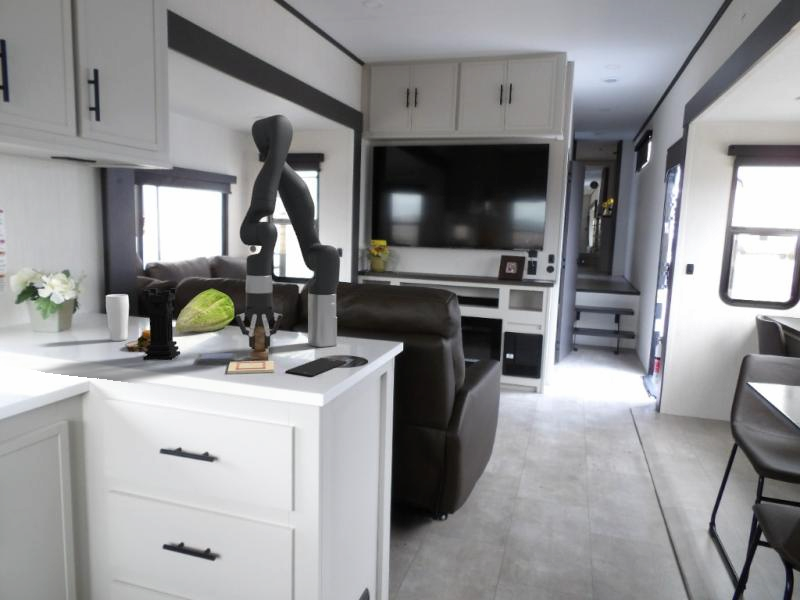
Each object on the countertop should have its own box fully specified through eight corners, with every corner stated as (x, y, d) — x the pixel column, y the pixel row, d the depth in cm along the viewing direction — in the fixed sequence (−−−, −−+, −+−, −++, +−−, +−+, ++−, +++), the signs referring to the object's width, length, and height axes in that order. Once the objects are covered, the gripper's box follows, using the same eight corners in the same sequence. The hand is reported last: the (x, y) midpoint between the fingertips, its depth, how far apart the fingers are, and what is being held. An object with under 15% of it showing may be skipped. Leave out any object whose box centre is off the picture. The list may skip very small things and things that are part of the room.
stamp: (268, 356, 167) (268, 322, 166) (268, 360, 162) (268, 325, 161) (251, 357, 166) (251, 322, 165) (250, 361, 161) (250, 325, 160)
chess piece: (153, 353, 167) (150, 287, 164) (180, 353, 168) (178, 288, 165) (143, 359, 159) (140, 290, 157) (171, 360, 160) (169, 291, 157)
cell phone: (347, 364, 162) (347, 361, 162) (312, 378, 146) (312, 375, 146) (321, 360, 166) (321, 357, 166) (284, 374, 150) (284, 370, 150)
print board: (273, 363, 159) (273, 359, 159) (274, 372, 150) (273, 368, 149) (230, 364, 156) (230, 361, 156) (227, 373, 147) (227, 370, 147)
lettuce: (203, 350, 193) (171, 351, 200) (245, 317, 213) (214, 318, 220) (187, 313, 188) (154, 315, 194) (231, 282, 208) (200, 285, 214)
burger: (153, 343, 183) (152, 320, 182) (174, 348, 176) (173, 325, 175) (117, 349, 173) (116, 325, 172) (138, 354, 166) (137, 330, 165)
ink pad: (235, 357, 165) (235, 352, 165) (234, 363, 158) (234, 358, 158) (200, 357, 163) (200, 353, 163) (196, 364, 155) (196, 359, 155)
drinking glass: (102, 340, 183) (100, 295, 181) (119, 337, 189) (118, 293, 187) (117, 342, 180) (115, 297, 178) (134, 339, 186) (133, 295, 184)
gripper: (283, 289, 167) (283, 345, 169) (234, 289, 163) (235, 346, 166) (284, 292, 159) (284, 350, 162) (233, 292, 156) (234, 351, 158)
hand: (259, 348), depth 164 cm, fingers closed on stamp, 3 cm apart
